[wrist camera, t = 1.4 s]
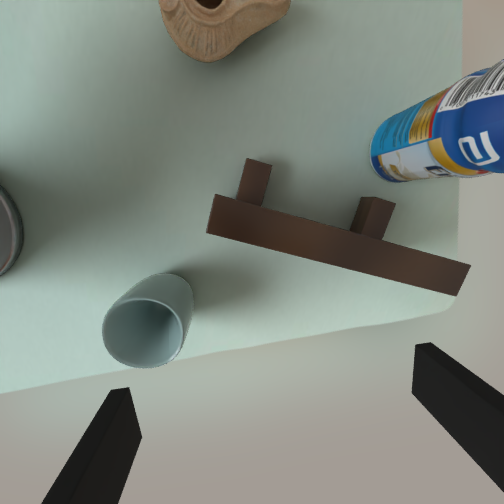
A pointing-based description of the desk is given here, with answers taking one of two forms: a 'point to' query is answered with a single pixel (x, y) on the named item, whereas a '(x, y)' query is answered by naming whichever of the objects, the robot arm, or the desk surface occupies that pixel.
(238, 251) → the desk surface
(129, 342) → the cup
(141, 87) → the desk surface
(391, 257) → the partition wall
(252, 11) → the pottery oil lamp
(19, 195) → the desk surface
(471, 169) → the beverage bottle
